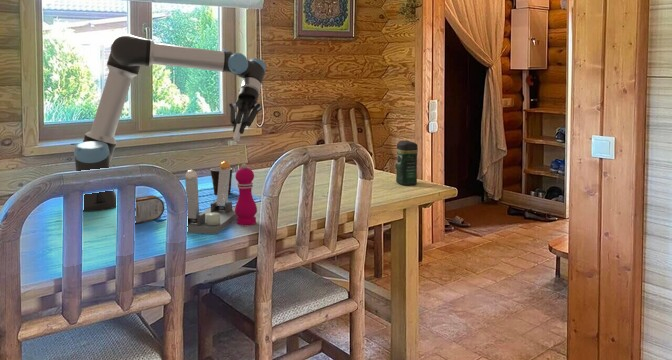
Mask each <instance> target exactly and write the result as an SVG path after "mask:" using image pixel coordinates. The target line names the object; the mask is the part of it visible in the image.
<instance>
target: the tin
mask: <svg viewBox="0 0 672 360" xmlns="http://www.w3.org/2000/svg"><path fill="white" fill-rule="evenodd" d="M135 198H136V208H135V211H136V216H135V221H136V223H137V224H140V223H141V224H142V223H147V222H151V221H152V222H153V221H156V219H157V220H159V219H160V218H161V217H162V215H163V214H164V212H165V203H164V201H163V200H162V199H161V198H160V197H158V196H156V195H146V196H141V197H140V196H139V197H138V196H137V197H135Z"/></svg>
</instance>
